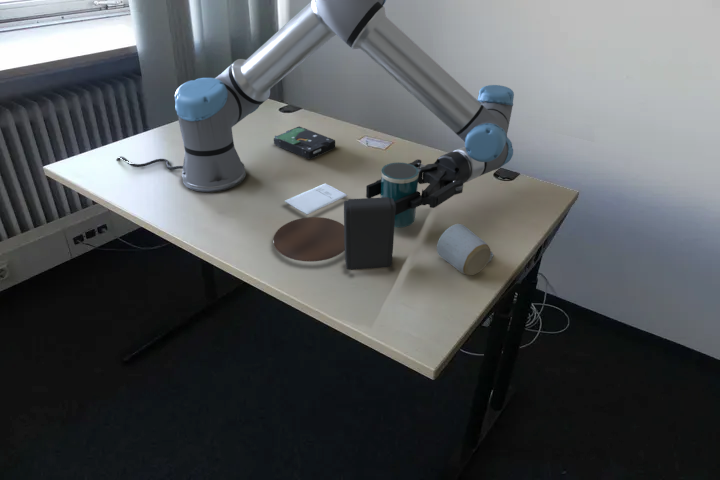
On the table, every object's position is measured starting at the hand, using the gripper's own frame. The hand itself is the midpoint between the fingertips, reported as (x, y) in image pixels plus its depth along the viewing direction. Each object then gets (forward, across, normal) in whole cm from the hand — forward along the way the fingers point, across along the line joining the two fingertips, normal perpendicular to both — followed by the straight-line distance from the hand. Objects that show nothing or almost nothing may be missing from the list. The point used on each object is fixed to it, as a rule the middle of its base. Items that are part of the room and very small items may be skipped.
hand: (380, 200), depth 102 cm
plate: (+11, +8, -10) cm, 17 cm away
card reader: (+8, -5, -10) cm, 14 cm away
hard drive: (+1, +21, -10) cm, 23 cm away
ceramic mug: (-8, -16, -10) cm, 21 cm away
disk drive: (-14, +48, -10) cm, 51 cm away
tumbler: (-5, 0, -6) cm, 8 cm away
